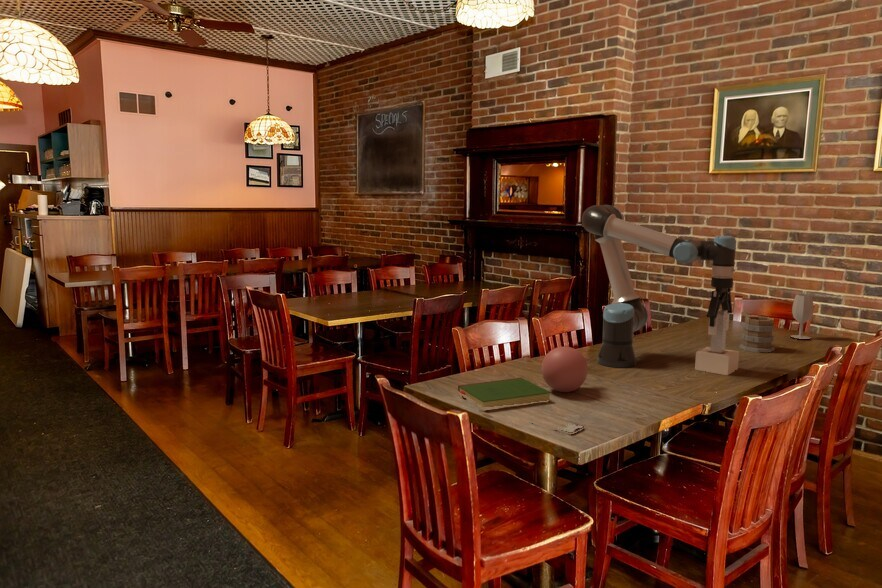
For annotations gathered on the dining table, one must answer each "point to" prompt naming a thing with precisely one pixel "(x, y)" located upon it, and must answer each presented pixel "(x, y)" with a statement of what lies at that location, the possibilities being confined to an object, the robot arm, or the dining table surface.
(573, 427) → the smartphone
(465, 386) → the hardcover book
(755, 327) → the tankard
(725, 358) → the well block
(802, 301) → the wineglass
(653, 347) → the dining table surface
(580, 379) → the matte pink sphere
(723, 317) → the steel bar
